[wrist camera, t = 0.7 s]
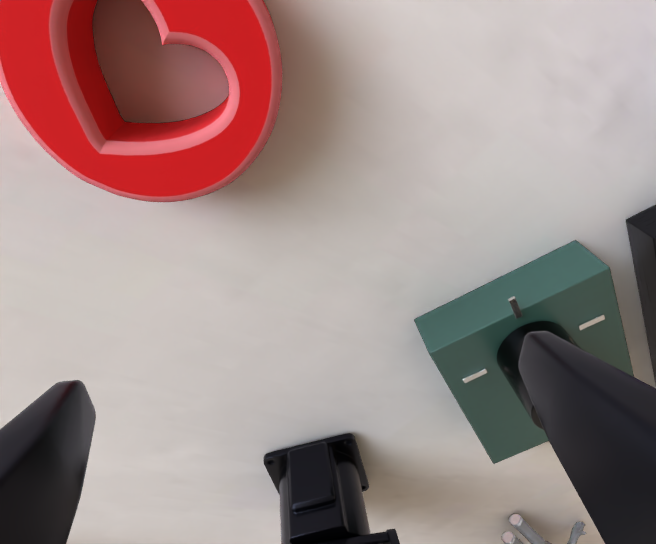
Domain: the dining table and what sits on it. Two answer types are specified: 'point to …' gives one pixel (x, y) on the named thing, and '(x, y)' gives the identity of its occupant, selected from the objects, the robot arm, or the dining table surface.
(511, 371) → the hob knob
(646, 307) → the hob
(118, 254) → the dining table surface
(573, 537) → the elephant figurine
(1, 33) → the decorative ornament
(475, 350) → the control box
